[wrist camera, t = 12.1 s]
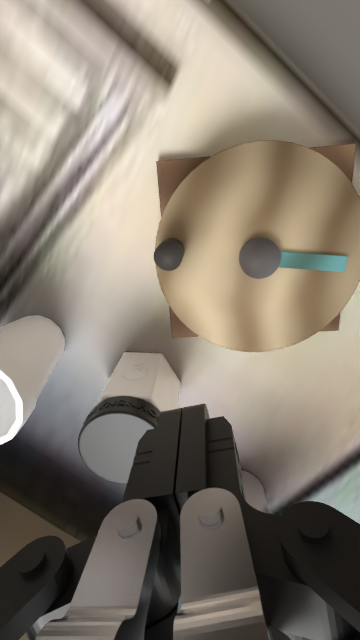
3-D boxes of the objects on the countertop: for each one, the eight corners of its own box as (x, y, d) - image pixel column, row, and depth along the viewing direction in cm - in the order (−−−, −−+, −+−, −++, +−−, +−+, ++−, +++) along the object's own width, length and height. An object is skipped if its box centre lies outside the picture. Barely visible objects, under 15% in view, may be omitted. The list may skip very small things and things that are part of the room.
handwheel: (385, 149, 28) (417, 141, 24) (335, 353, 35) (353, 374, 31) (161, 136, 29) (154, 126, 25) (153, 338, 36) (147, 357, 32)
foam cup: (21, 286, 38) (-65, 328, 26) (92, 331, 39) (42, 392, 27) (-12, 347, 41) (-103, 412, 29) (55, 388, 42) (-5, 465, 30)
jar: (181, 351, 39) (172, 413, 28) (180, 410, 42) (172, 488, 31) (105, 348, 40) (67, 408, 29) (110, 407, 43) (76, 482, 32)
